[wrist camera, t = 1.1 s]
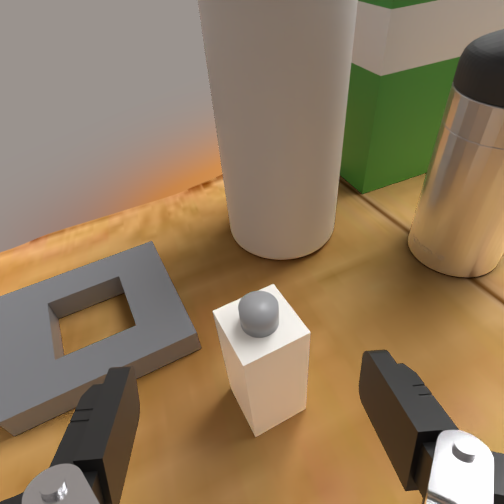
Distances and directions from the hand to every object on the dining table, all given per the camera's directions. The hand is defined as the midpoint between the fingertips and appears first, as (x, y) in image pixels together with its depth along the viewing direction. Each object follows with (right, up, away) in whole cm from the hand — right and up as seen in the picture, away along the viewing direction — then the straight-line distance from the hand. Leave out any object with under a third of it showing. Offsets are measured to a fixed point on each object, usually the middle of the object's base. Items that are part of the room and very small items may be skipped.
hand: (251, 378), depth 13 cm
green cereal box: (+21, +17, +41) cm, 50 cm away
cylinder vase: (+4, +7, +33) cm, 34 cm away
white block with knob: (+1, -8, +17) cm, 19 cm away
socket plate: (-15, -3, +23) cm, 28 cm away
